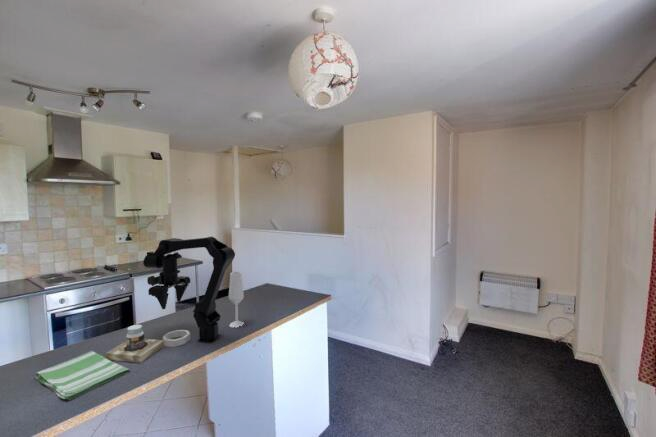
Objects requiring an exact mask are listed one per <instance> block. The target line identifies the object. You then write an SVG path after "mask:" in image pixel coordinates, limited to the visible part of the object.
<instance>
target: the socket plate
mask: <svg viewBox="0 0 656 437" xmlns="http://www.w3.org/2000/svg"><path fill="white" fill-rule="evenodd" d="M144 347H145V348H143V349H141V350H137V351H133V352H129V351H127V347H126V340H125V341H124V342H122V343H120V344H118V345H117V346H115V347H114V348H112V349H110V350H108V351H107V352H105V358H107V359H108V360H110V361H117V362H128V363H139V364H142V363H143V362H145V361H146V360H148V359H149V358H151V356H153V355H154V354H156V353H157V352H158V351H160V350H162V349H163V348H164V347H165V346H164V340H163V339H151V338H150V339H149V338H144Z"/></svg>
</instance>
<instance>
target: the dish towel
mask: <svg viewBox="0 0 656 437" xmlns="http://www.w3.org/2000/svg"><path fill="white" fill-rule="evenodd" d="M130 372H131V369H130V368H127V367H126V366H123V365H121V364H119V363H116V362H114V361H113V360H108V359H107V358H106V356H102V355H101V354H98V353H97V352H95V351H94V350H90V351H88V352H85V353H83V354H80V355H79V356H76V357H74V358H70V359H69V360H66V361H63V362H61V363H59V364H55V365H54V366H50V367H48V368H45V369H42V370H39V371H37V372H35V378H34V379H36V380H37V381H38V382H40V383H41V384H42V385H44V386H45V387H47V388H49V390H51V391H52V392H54V393H55V394H56V395H57V396H58V397H59V398H60V399H63V400H68V401H71V400H73V399H75V398H78V397H79V396H82V395H84V394H85V393H88V392H90V391H93V390H94V389H96V388H98V387H100V386H102V385H105V384H106V383H109V382H111V381H112V380H116V379H119V378H121V377H123V376H126V375H127V374H129V373H130Z"/></svg>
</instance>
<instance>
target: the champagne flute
mask: <svg viewBox="0 0 656 437" xmlns="http://www.w3.org/2000/svg"><path fill="white" fill-rule="evenodd" d="M228 287H229V288H228V289H229V290H228V300H229V301H230V302H231V303H232V304H233V305H234V315H235V317H234V318H235V320H234V321H232V322H231V323H229V324H230V325H229V324H228V326H229V327H230V328H234V327H235V328H240V327H239V326H241V327H243V326H244V325H245V322H243V321H241V320H239V307H238V306H239V304H240V303H241V301H243V299H244V295H245V294H244V286H243V277H242V272H241V271H233V272H230V274H229V286H228ZM243 324H244V325H243ZM242 325H243V326H242Z"/></svg>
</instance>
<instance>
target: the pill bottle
mask: <svg viewBox="0 0 656 437" xmlns="http://www.w3.org/2000/svg"><path fill="white" fill-rule="evenodd" d="M126 329H127V333H126V336H125V341H126V347H127V351H129V352H133V351H137V350H141V349H143V348H145V347H144V339H145V332H144V331H143V325H142V324H133V325H130V326H128V327H127V328H126Z"/></svg>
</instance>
